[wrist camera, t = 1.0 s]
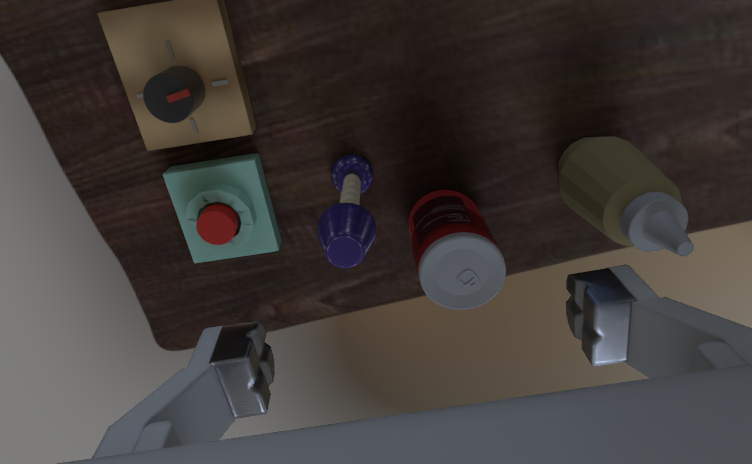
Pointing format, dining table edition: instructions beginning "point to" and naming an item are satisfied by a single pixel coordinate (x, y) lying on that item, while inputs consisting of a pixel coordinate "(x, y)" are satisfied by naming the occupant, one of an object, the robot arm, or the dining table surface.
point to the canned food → (454, 251)
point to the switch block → (229, 187)
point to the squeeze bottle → (623, 195)
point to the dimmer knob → (174, 94)
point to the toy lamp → (348, 215)
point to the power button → (217, 224)
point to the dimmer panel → (181, 48)
